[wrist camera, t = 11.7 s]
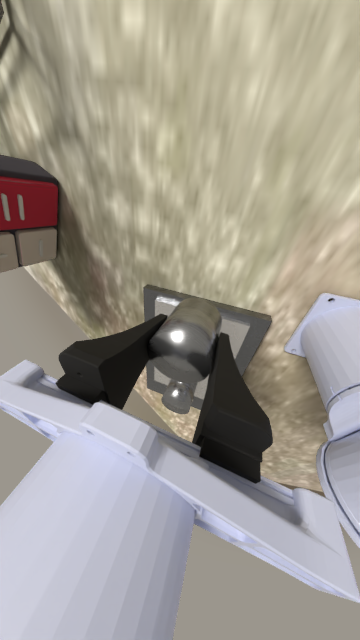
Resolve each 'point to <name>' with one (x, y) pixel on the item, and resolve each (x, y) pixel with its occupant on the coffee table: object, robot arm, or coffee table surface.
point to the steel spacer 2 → (179, 396)
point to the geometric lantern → (1, 11)
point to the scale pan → (229, 326)
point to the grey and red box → (26, 213)
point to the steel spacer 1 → (187, 341)
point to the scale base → (256, 320)
